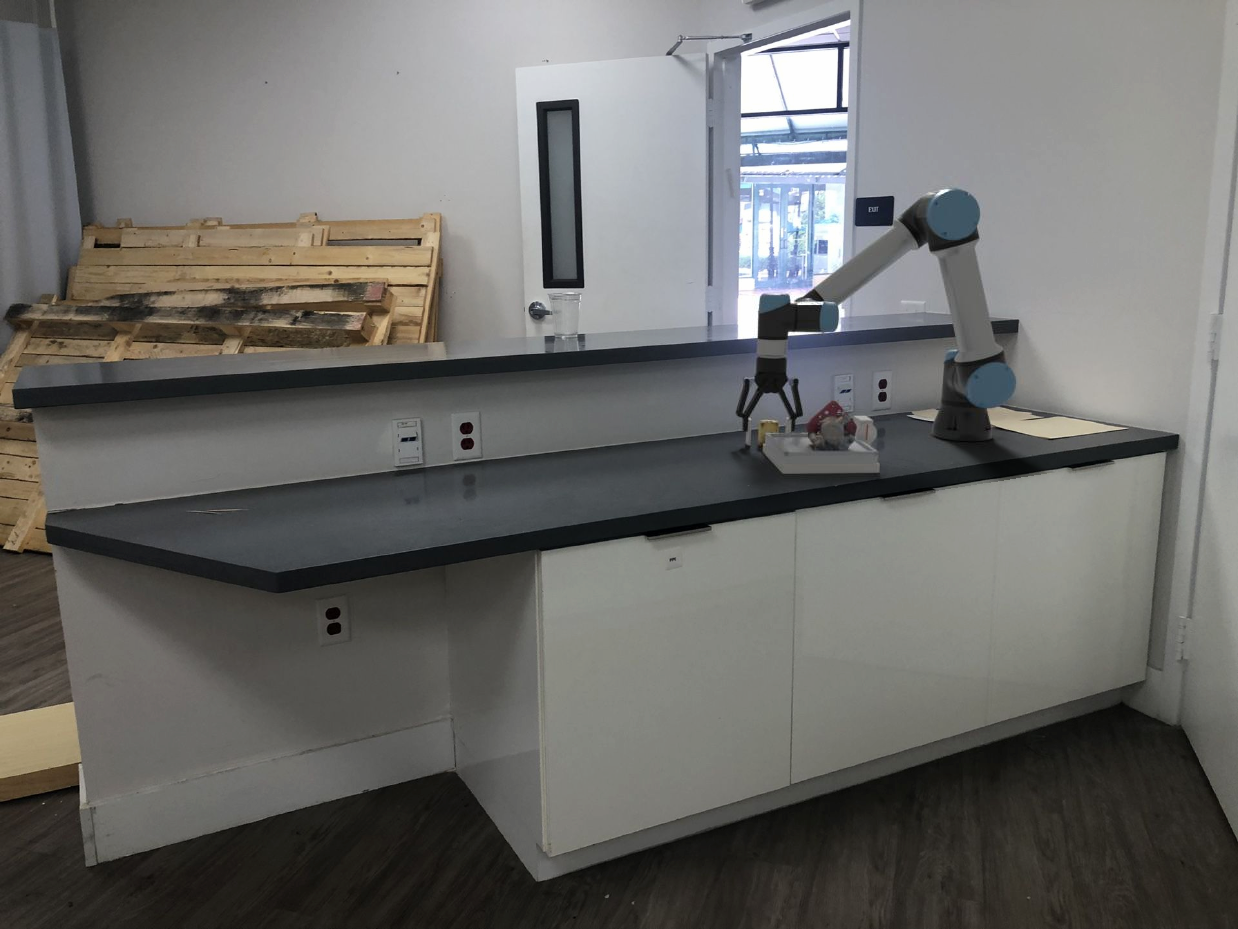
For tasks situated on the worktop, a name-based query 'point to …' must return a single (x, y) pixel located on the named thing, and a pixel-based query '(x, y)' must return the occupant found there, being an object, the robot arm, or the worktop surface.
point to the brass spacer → (766, 429)
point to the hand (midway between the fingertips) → (767, 443)
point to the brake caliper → (831, 429)
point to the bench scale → (824, 452)
